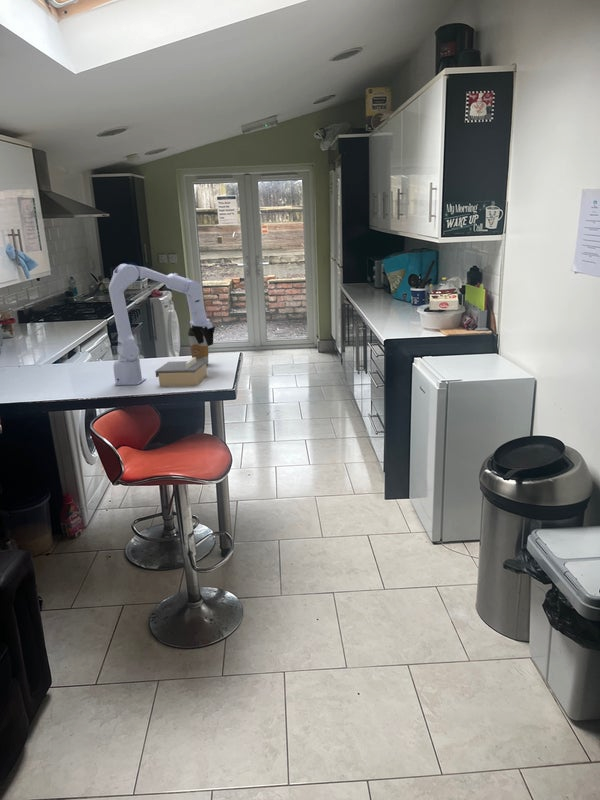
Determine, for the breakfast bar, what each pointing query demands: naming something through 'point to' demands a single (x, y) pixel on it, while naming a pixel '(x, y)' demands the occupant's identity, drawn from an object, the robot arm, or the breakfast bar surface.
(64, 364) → the breakfast bar surface
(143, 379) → the robot arm
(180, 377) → the storage box
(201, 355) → the coffee cup
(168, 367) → the grey square slab
